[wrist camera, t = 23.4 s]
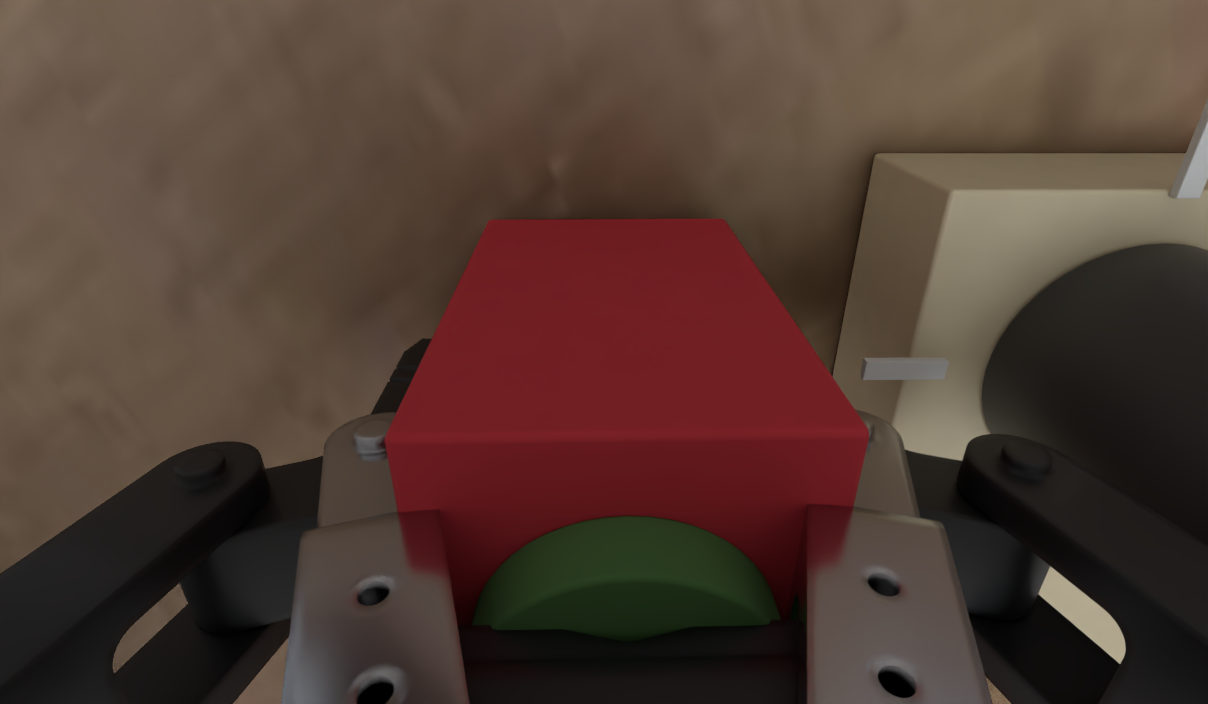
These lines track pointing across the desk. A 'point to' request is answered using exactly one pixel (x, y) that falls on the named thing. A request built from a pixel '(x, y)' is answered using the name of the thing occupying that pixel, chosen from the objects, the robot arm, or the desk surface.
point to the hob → (992, 281)
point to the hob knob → (1116, 376)
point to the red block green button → (620, 431)
